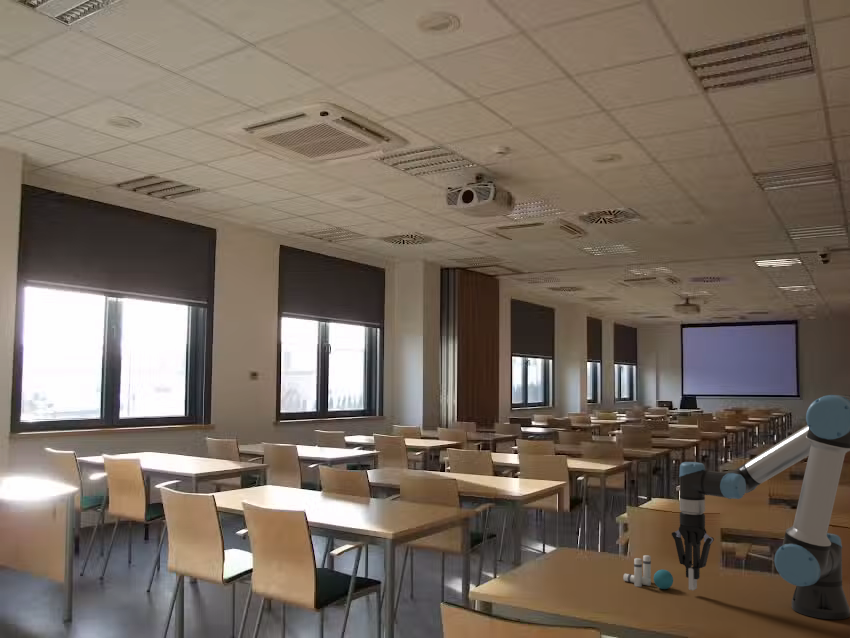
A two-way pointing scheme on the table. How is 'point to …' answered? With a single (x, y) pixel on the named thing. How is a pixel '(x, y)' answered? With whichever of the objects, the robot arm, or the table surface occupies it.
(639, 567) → the pin
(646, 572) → the pin
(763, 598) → the table surface
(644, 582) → the front pin
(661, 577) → the ball
